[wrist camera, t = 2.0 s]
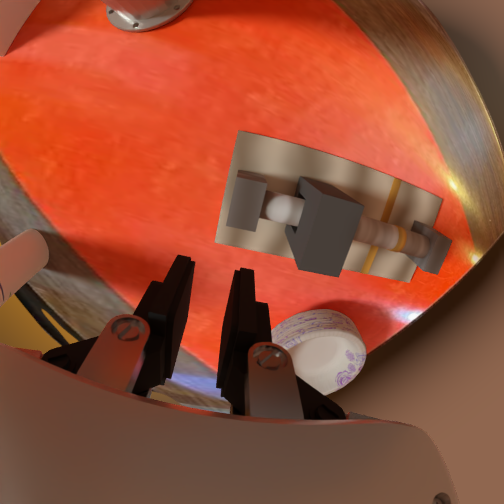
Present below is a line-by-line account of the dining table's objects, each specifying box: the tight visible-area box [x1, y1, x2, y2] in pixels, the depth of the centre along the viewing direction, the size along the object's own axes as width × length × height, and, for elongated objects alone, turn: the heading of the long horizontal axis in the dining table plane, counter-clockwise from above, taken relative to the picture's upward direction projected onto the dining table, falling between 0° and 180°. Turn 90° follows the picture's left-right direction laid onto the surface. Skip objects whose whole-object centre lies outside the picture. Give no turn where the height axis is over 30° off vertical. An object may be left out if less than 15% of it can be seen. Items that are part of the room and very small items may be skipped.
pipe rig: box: [215, 130, 452, 283], centre depth 31 cm, size 30×14×7 cm, turn 77°
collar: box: [284, 176, 364, 277], centre depth 27 cm, size 4×7×10 cm, turn 167°
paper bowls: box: [271, 309, 366, 395], centre depth 38 cm, size 15×15×8 cm
